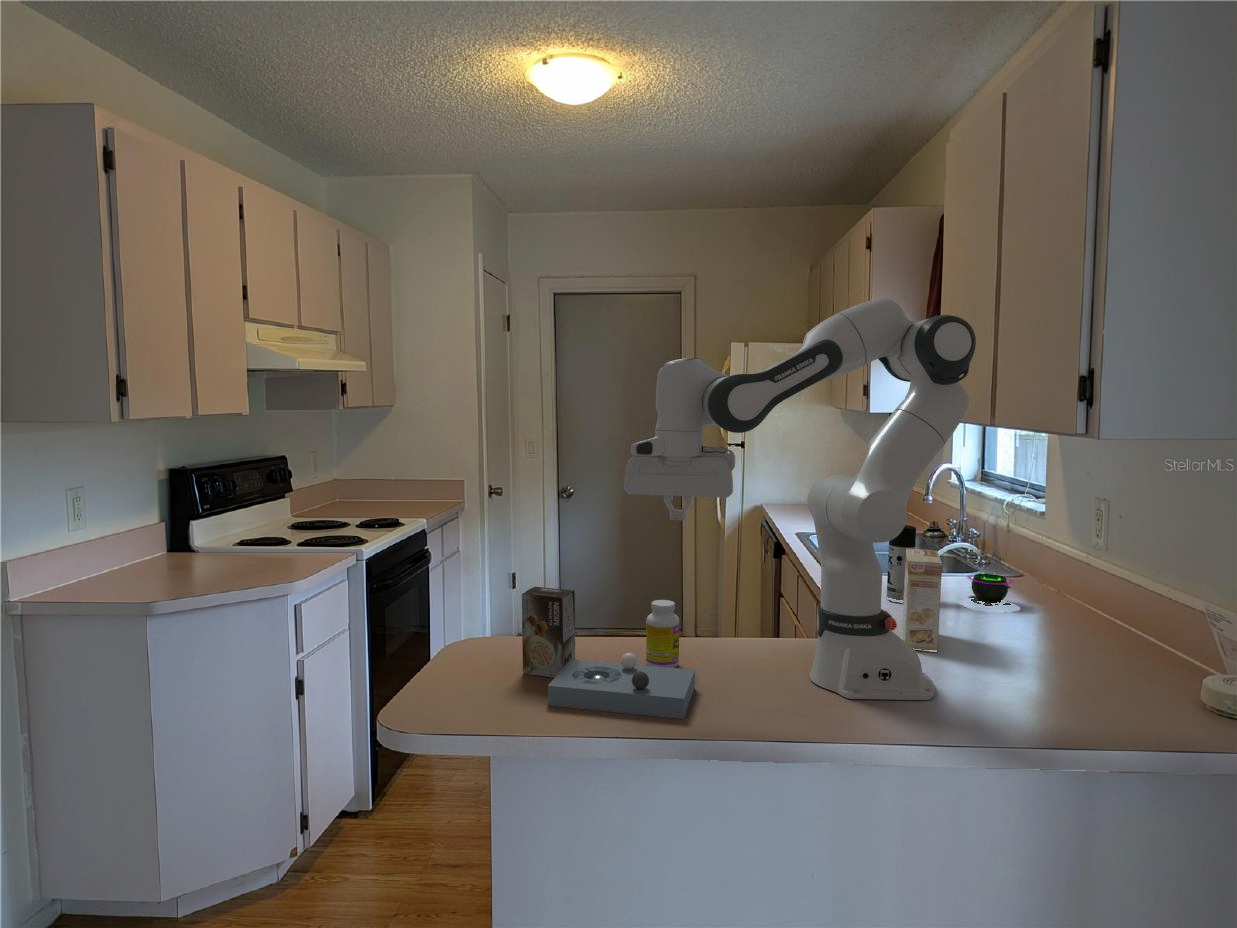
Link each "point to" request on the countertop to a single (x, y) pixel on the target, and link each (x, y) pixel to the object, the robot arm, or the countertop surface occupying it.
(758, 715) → the countertop surface
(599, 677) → the steel ball
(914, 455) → the robot arm
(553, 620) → the coffee box
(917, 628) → the coffeecake box
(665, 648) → the supplement bottle
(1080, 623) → the countertop surface
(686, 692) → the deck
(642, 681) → the black ball
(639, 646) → the countertop surface
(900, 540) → the spray can
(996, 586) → the toy cauldron
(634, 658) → the cream ball
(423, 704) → the countertop surface
